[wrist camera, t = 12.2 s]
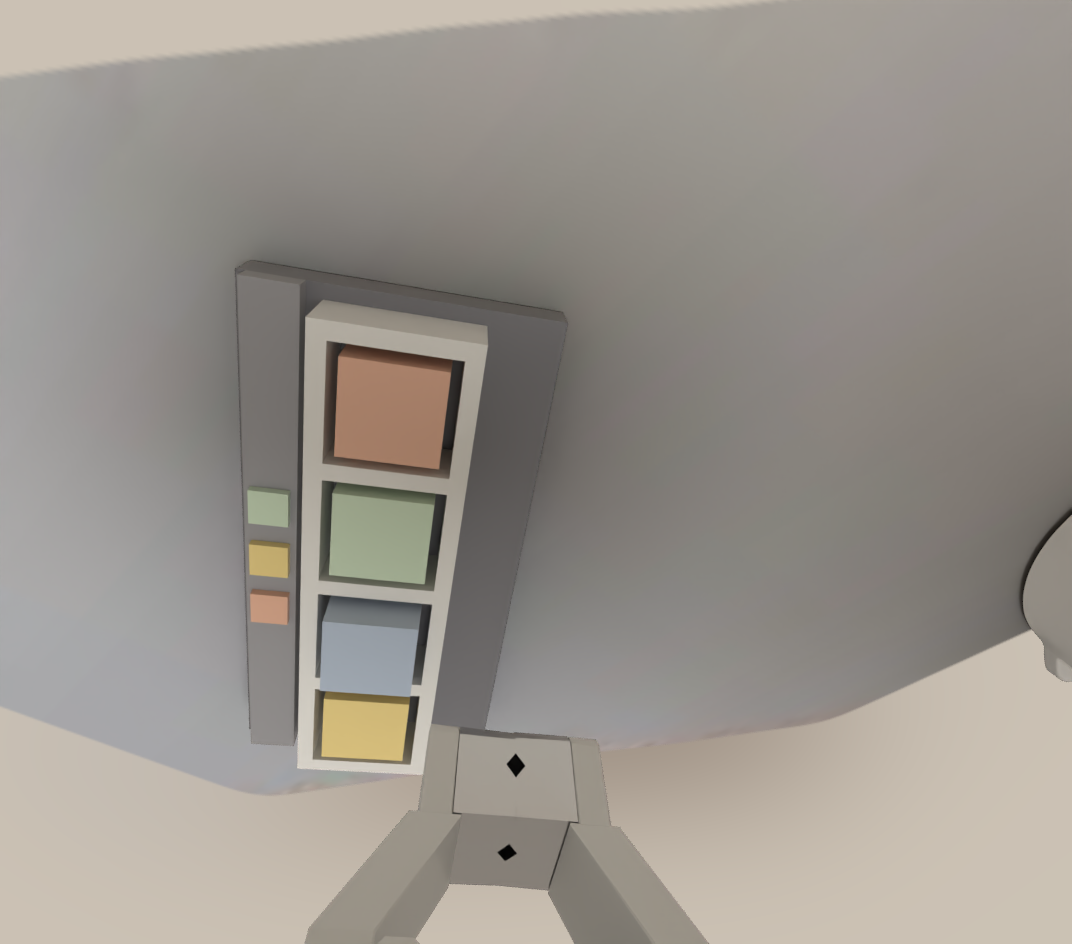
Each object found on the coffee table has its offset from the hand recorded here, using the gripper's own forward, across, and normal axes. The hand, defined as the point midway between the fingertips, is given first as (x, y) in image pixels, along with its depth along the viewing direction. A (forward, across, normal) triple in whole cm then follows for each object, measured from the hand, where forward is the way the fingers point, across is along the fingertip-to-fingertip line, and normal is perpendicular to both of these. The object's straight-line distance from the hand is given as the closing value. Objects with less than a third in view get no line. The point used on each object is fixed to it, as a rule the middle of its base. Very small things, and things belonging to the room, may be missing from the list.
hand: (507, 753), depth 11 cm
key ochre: (+19, +5, +20) cm, 28 cm away
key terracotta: (+19, +5, +1) cm, 20 cm away
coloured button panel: (+22, +5, +10) cm, 25 cm away
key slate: (+18, +5, +13) cm, 23 cm away
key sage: (+19, +5, +7) cm, 21 cm away
